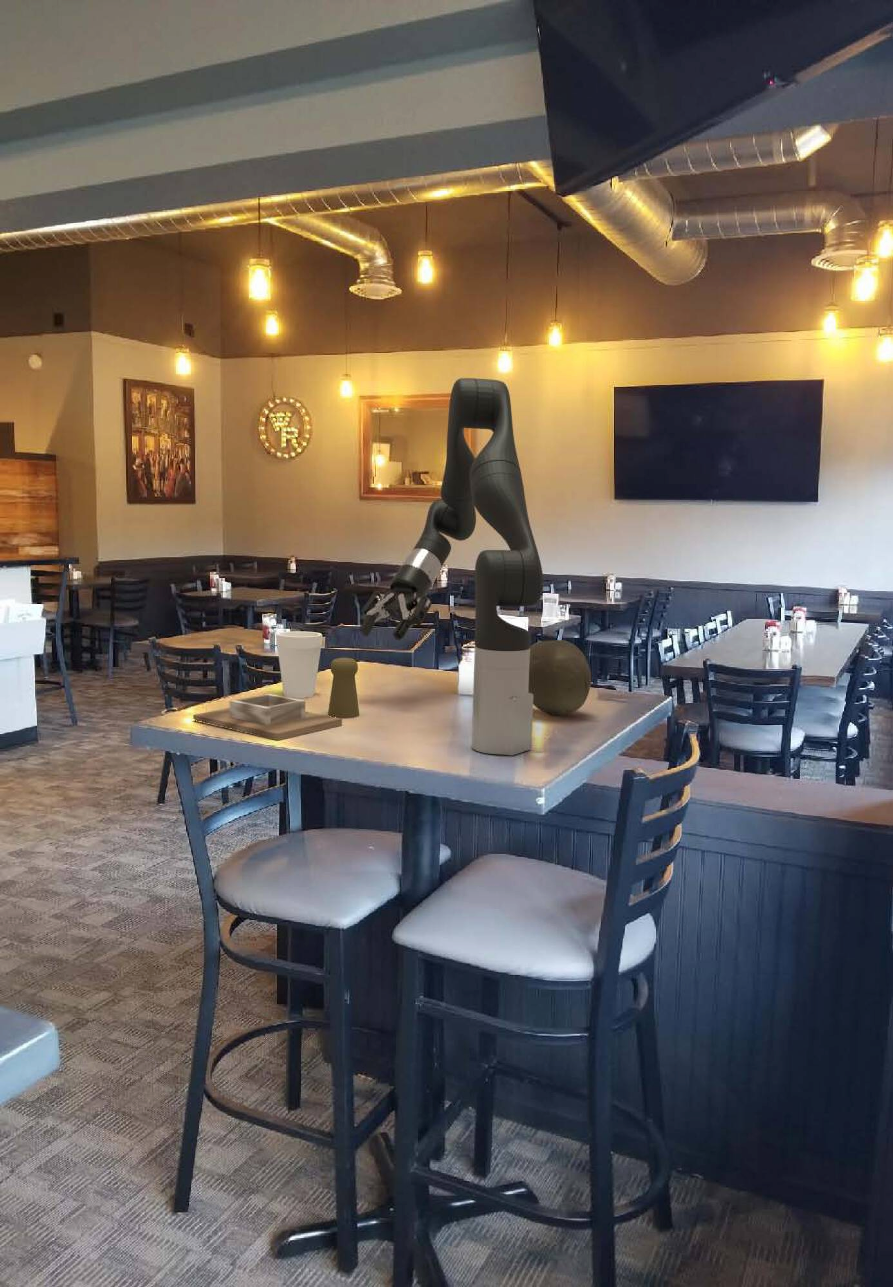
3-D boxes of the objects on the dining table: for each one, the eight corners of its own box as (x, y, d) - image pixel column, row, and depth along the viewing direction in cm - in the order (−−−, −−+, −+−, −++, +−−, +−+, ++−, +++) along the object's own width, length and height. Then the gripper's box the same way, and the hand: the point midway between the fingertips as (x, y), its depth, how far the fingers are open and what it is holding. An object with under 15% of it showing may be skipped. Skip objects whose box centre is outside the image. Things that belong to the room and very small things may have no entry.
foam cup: (268, 697, 200) (268, 635, 198) (289, 689, 209) (289, 630, 207) (309, 701, 197) (309, 638, 196) (328, 693, 206) (329, 633, 204)
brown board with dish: (342, 725, 176) (342, 702, 175) (277, 740, 163) (277, 716, 163) (258, 708, 189) (258, 687, 188) (193, 721, 176) (193, 698, 175)
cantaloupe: (569, 706, 199) (572, 634, 197) (601, 721, 186) (605, 644, 183) (506, 709, 194) (508, 635, 192) (534, 724, 181) (537, 645, 179)
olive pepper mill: (354, 719, 182) (354, 661, 180) (323, 716, 183) (324, 659, 181) (363, 712, 187) (364, 657, 186) (333, 710, 189) (334, 655, 187)
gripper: (381, 561, 200) (343, 620, 193) (436, 565, 192) (398, 626, 184) (397, 585, 205) (361, 643, 198) (451, 590, 197) (415, 651, 189)
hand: (379, 635), depth 191 cm, fingers open, 8 cm apart
